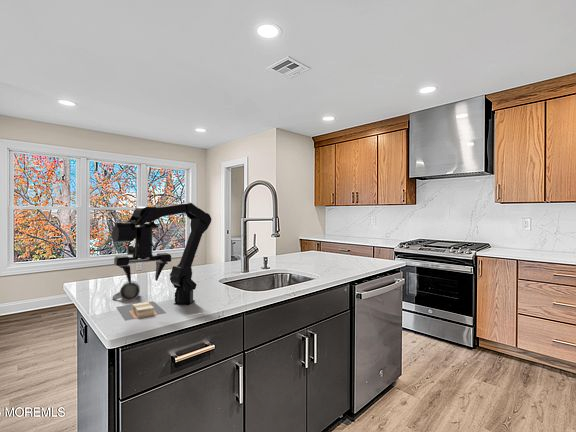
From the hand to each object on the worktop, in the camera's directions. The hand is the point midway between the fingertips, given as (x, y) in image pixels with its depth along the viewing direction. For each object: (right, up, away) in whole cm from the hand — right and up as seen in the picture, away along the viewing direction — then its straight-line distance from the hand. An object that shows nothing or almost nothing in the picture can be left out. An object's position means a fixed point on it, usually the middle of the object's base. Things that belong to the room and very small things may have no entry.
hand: (143, 282), depth 117 cm
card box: (0, -11, 0) cm, 11 cm away
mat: (-3, -12, +3) cm, 13 cm away
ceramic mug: (-16, -12, +19) cm, 27 cm away
